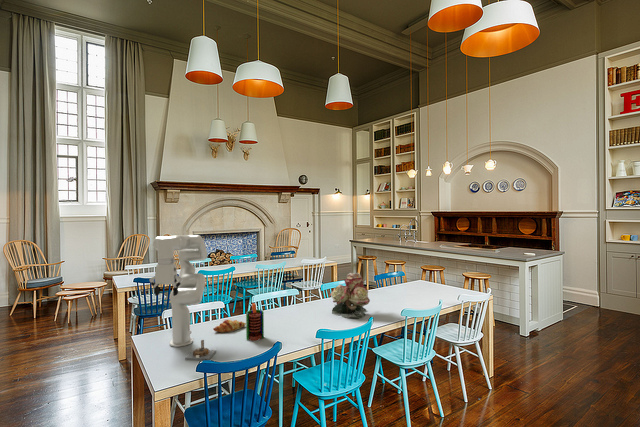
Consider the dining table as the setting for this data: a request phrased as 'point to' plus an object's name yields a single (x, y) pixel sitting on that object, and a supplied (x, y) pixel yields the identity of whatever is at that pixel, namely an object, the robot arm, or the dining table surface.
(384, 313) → the dining table surface
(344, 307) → the rose bouquet
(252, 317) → the motor
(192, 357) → the base plate
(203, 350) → the sprocket
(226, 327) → the croissant
